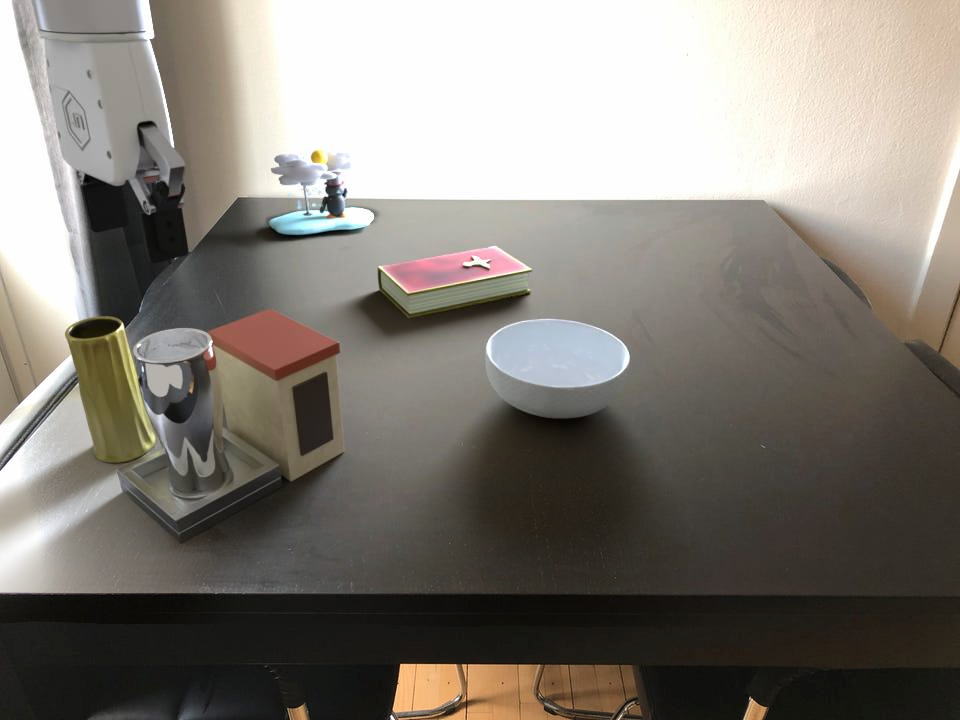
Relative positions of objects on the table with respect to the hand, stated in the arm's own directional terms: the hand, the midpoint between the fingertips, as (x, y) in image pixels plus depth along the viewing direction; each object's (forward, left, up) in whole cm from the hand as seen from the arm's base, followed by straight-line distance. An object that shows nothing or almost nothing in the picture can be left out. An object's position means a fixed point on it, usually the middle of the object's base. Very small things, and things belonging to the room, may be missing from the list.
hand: (138, 242), depth 61 cm
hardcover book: (+54, +14, -26) cm, 61 cm away
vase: (-1, +11, -26) cm, 28 cm away
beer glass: (+1, -1, -25) cm, 25 cm away
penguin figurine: (+59, +53, -26) cm, 83 cm away
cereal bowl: (+38, -17, -26) cm, 49 cm away
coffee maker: (+5, -1, -26) cm, 26 cm away
